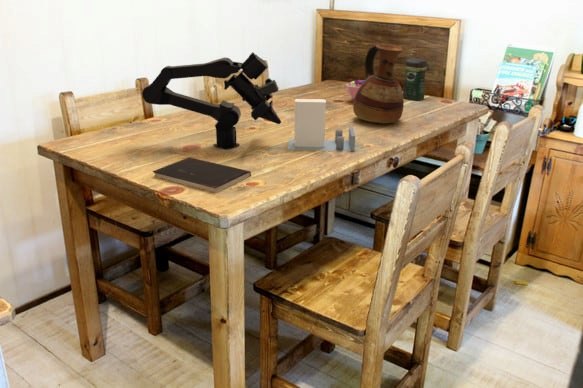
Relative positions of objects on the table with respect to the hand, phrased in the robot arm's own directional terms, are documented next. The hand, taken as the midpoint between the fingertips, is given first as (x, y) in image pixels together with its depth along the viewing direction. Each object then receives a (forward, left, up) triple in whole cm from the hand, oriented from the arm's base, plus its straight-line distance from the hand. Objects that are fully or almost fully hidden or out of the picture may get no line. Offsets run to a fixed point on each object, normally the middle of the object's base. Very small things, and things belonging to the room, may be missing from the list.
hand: (280, 123), depth 182 cm
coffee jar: (+101, -1, -8) cm, 101 cm away
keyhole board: (+8, -11, -8) cm, 16 cm away
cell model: (+81, +13, -9) cm, 82 cm away
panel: (+6, -8, -7) cm, 12 cm away
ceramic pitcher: (+53, -8, -8) cm, 54 cm away
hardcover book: (-37, 0, -9) cm, 38 cm away
